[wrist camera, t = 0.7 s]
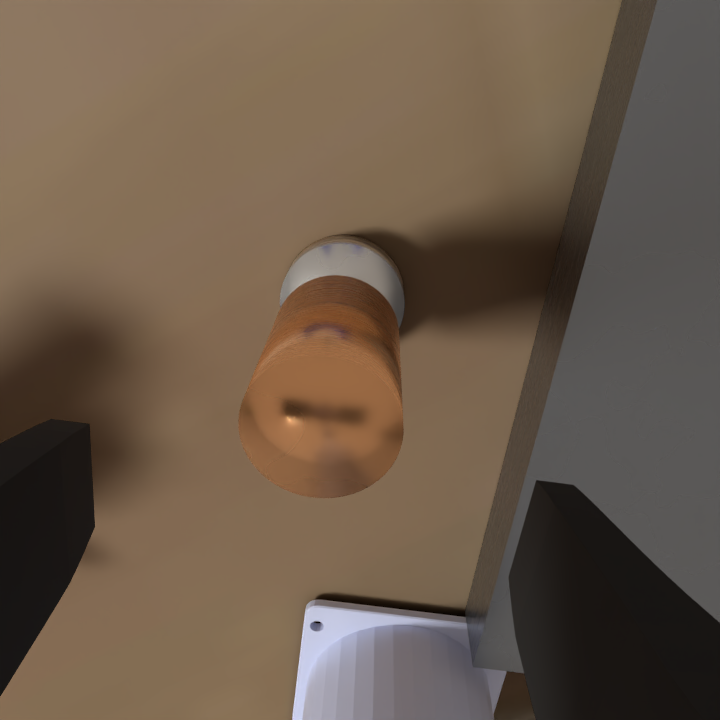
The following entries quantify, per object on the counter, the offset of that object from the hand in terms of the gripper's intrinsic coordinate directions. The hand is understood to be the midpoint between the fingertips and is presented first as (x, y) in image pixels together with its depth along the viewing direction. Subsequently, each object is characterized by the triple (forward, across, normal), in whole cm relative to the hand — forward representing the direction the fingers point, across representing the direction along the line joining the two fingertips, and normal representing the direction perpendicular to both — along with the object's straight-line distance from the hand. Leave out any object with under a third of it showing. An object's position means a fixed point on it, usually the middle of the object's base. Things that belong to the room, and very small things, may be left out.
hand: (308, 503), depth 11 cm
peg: (+10, 0, 0) cm, 10 cm away
